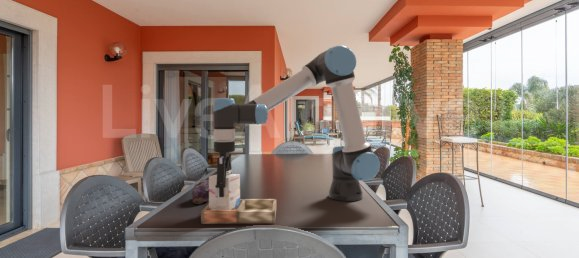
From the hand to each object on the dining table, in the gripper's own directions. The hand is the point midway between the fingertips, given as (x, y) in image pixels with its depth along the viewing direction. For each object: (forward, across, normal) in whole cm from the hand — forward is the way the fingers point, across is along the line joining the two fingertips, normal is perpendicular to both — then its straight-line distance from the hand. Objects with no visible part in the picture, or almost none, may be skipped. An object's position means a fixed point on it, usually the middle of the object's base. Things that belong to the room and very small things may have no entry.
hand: (225, 201), depth 118 cm
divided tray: (+5, 0, +6) cm, 8 cm away
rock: (+6, -21, -14) cm, 26 cm away
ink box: (+2, 0, 0) cm, 2 cm away
